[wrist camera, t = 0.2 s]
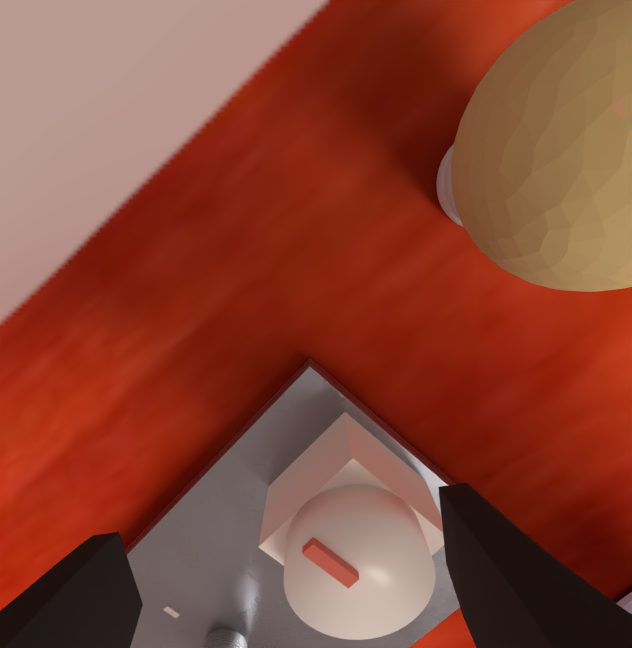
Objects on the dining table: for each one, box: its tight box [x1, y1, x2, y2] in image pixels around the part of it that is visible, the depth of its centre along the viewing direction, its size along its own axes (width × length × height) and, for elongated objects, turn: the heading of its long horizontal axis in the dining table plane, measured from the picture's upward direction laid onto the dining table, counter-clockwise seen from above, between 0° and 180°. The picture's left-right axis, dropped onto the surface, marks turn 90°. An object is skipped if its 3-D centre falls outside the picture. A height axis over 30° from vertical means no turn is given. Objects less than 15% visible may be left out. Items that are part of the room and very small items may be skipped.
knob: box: [259, 412, 444, 640], centre depth 16 cm, size 5×5×5 cm
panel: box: [125, 357, 460, 648], centre depth 19 cm, size 14×18×4 cm
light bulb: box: [437, 0, 632, 292], centre depth 11 cm, size 6×6×10 cm
